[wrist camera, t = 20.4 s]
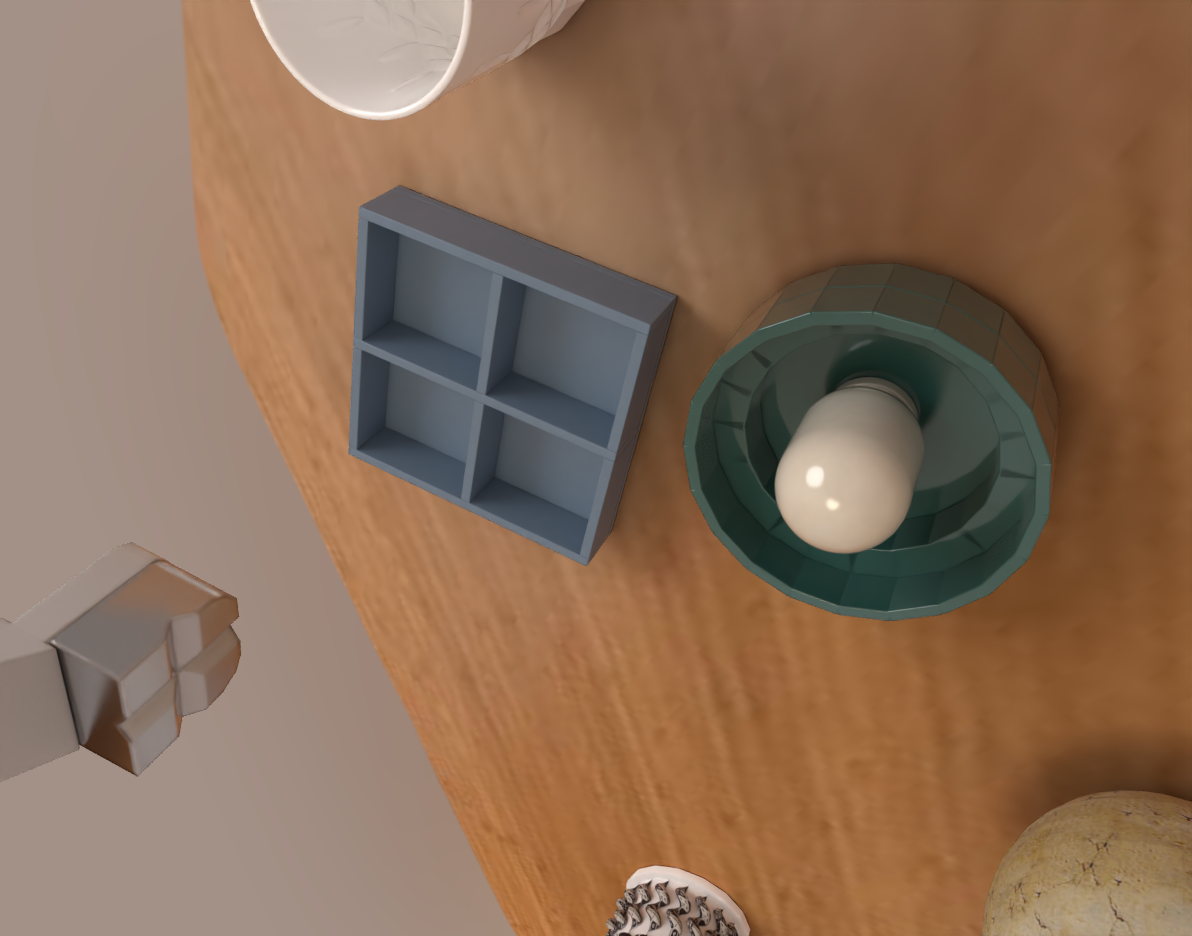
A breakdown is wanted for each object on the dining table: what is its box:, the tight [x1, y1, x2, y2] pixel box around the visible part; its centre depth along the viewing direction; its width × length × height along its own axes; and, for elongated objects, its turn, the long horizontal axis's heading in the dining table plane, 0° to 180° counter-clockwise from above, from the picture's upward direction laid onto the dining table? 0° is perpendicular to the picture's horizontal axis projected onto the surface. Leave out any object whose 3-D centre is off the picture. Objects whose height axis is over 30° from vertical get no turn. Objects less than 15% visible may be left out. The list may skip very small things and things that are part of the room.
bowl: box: [683, 263, 1059, 621], centre depth 37 cm, size 13×13×5 cm
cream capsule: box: [774, 377, 925, 554], centre depth 36 cm, size 5×5×8 cm
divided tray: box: [349, 186, 677, 566], centre depth 45 cm, size 14×14×3 cm
